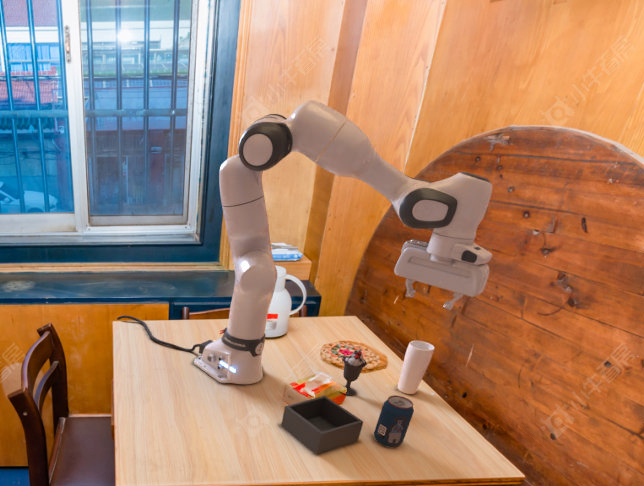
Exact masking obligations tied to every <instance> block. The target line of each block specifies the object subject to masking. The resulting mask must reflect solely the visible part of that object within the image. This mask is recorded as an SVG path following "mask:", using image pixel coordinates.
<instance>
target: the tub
mask: <svg viewBox="0 0 644 486" xmlns="http://www.w3.org/2000/svg"><path fill="white" fill-rule="evenodd" d="M363 425H364V421H363V420H362V419H360V418H359V417H358V416H356V415H355V414H353V413H352V412H350V411H349V410H347V409H346V408H344V407H343V406H341V405H340V404H338V403H337V402H335V401H334V400H333V399H330V398H329V397H328V396H326V395H322V396H318V397H315V398H311V399H307V400H303V401H298V402H296V403H292V404H287V405H285V406H284V409H283V414H282V419H281V423H280V426H281V427H282V428H283V429H284V430H285V431H287V432H288V433H289V434H291V436H293V437H294V438H295V439H297V440H298V441H299V442H300V443H302V444H303V445H304V446H305V447H307V448H308V449H309V450H310V451H311V452H313V453H314V454H316V455H320V454H322V453H327V452H329V451H333V450H336V449H338V448H342V447H344V446H345V447H346V446H348V445H351V444H354V443H357V442H358V441H359V437H360V434H361V431H362V428H363Z"/></svg>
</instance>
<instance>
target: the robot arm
mask: <svg viewBox="0 0 644 486" xmlns="http://www.w3.org/2000/svg"><path fill="white" fill-rule="evenodd" d="M237 149H238V150H237V151H238V154H235V155H232V156H230V157H227V159H226V160H224V161H223V162H222V163H221V165H220V166H219V171H218V178H219V179H218V181H219V182H218V183H219V184H218V185H219V194H220V203H221V207H222V213H223V218H224V223H225V228H226V233H227V238H228V243H229V248H230V253H231V257H232V263H233V268H234V285H233V292H232V297H231V302H230V306H229V314H228V322H227V327H224V328H223V329H221V330H219V335H222V336H221V337H220V338H217V339H215V340H211V339H209V340H206V341H204V342H201V343H195V344H193V346H192V347H191V348H186V347H185V348H184V347H182V346H179V345H176V344H173V343H171V342H166V341H164V340H160V339H158V338H156V337H155V336H154V335H153V334H152V332H151V330H150V328H149V326H148V325H147V324H146V322H145V321H143V320H141V319H139V318H137V317H134V316H131V315H127V314H125V315H119V316H118V317H116V320H118V321H119V320H122V319H129V320H132V321H134V322H137V323H140V324H141V325H143V327H144V329H145V331H146V333H147V335H148V336H149V337H150V339H151V340H152V341H154V342H155V343H158V344H161V345H164V346H167V347H170V348H174V349H176V350H179V351H184V352H187V353H191V352H194V351H195V349H196V348H198V354H199V355H198V356H197V357H196V358H195V359H194V360H193V364H194V365H195V366H196V367H197V368H199V369H200V370H202V371H203V372H204V373H206V374H207V375H209V376H210V377H211V378H212V379H214V380H216V381H217V382H218V383H220V384H236V385H237V384H238V385H251V384H256V383H258V382H260V381H262V380H263V377H264V374H263V363H262V362H263V360H262V359H263V352H264V347H265V342H266V327H267V321H268V315H269V310H270V305H271V303H272V300H273V296H274V292H275V288H276V285H277V280H278V269H277V266H276V264H275V260H274V257H273V252H272V244H271V237H270V236H271V235H270V227H269V226H270V225H269V219H268V212H267V205H266V198H265V194H264V187H263V186H264V185H263V173H264V172H265V171H269V170H270V169H272V168H273V167H275V166H277V165H278V164H279V163H280V162H281V161H282V160H283V159H285V158H286V157H287V156H288V155H290V154H291V153H293V152H295V153H296V152H297V153H299V154H302V155H303V156H305V157H306V158H307V159H309V160H310V161H312V162H313V163H315V164H316V165H317V166H319V167H320V168H322V169H324V170H325V171H327V172H329V173H331V174H333V175H335V176H338V177H342V178H353V179H356V180H359V181H361V182H363V183H365V184H367V186H369V187H371V188H372V189H374V190H375V191H376V192H378V193H379V194H380V195H382V196H383V197H385V198H386V199H387V200H388V201H389V203H390V204H391V206H392V208H393V210H394V213H395V214H396V215H397V217H398V218H399V220H400V221H401V223H402V224H403V225H404V226H406V227H408V228H410V229H413V230H432V229H433V230H432V233H431V236H430V239H429V242H428V241H423V240H418V239H415V238H411V239H409V240H406V241H405V242H404V243H403V245H402V248H401V251H400V253H401V254H400V255H399V258H398V260H397V262H396V264H395V266H394V268H393V272H394V275H396V276H398V277H401V278H405V284H404V285H405V288H406V292H405V297H406V298H410V299H413V298H414V297H415V294H416V292H417V290H415V289H414V287H413V284H414V283H415V282H419V283H422V284H425V285H429V286H431V287H436V288H439V289H443V290H447V291H450V292H453V297H454V298H453V299H451V300H446V301H445V302H444V305H443V306H442V307H443V309H445V310H448V311H451V310H452V309H453V307H454V305H455V303H457V302H458V301H459V300H461V299H462V298H463V297H464V296H467V297H471V298H475V297H477V296H479V295H481V294H482V293H483V292H484V291H485V288H486V285H487V282H488V280H489V276H490V266H489V264H488V263H489V262H491V260H492V258H493V254H492V252H490V251H489V250H487V249H485V248H484V247H482V246H480V245H479V244H477V243H475V239H476V237H477V230H478V228H479V225H480V223H481V222H482V221H483V219H484V218H485V215H486V213H487V209H488V207H489V204H490V202H491V197H492V193H493V184H492V182H491V180H490V179H488V178H486V177H485V176H481V175H478V174H475V173H471V172H468V171H459V172H457V173H456V174H454V175H452V176H450V177H447V178H444V179H441V180H437V181H434V182H432V181H430V180H427V179H423V178H416V177H415V178H414V177H411V176H409V175H407V174H405V173H403V172H402V171H401V170H399V169H398V168H397V167H395V166H394V165H393V164H391V163H389V162H388V161H386V159H384V158H383V156H381V155H380V154H379V152H378V151H377V150H376V148H375V146H374V145H373V143H372V141H371V139H370V138H369V137H368V135H367V134H366V133H365V132H364V131H363V130H362V128H361V127H359V126H358V125H357V124H356V122H353V121H352V120H351V119H349V118H348V117H347V116H345V115H344V114H343V113H341V112H339V111H338V110H336V109H335V108H332V107H330V106H329V105H326V104H324V103H322V102H321V101H317V100H312V99H311V100H307V101H304V102H303V103H301V104H299V105H298V106H297V107H296V108H295V110H294V111H292V113H291V115H290V116H289V117H288V118H287V117H286V116H284V115H282V114H278V113H270V114H266V115H264V116H262V117H260V118H258V119H256V120H254V122H252V123H251V124H250V126H249V127H247V129H246V130H245V131H244V132H243V133H242V135H241V136H240V139H239V143H238V148H237Z"/></svg>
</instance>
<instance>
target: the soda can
mask: <svg viewBox="0 0 644 486" xmlns="http://www.w3.org/2000/svg"><path fill="white" fill-rule="evenodd" d="M414 411H415V410H414V403H413V401H412V400H411V399H409V398H407V397H405V396H403V395H402V396H401V395H390V396H388V398H387V399H386V400H385V401H384V402H383V403H382V407H381V410H380V414H379V416H378V419H377V422H376V424H375V427H374V431H373V437H374V439H375V441H376V442H377V444H379V445H381V446H383V447H386V448H397V447H399V446H400V445H401V444H403V442H404V440H405V437H406V434H407V432H408V430H409V426H410V423H411V420H412V418H413V415H414Z"/></svg>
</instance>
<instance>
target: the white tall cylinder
mask: <svg viewBox="0 0 644 486" xmlns="http://www.w3.org/2000/svg"><path fill="white" fill-rule="evenodd" d="M434 352H435V346H434V345H433V344H431V343H429V342H426V341H423V340H411V341H410V342H409V343H408V345H407V348H406V351H405V353H404V358H403V362H402V365H401V371H400V376H399V380H398V383H397V389H398V391H399V392H401V393H403V394H406V395H413V394H415V393H417V392H418V389H419V386H420V385H421V382H422V380H423V378H424V376H425V373H426V371H427V369H428V367H429V366H430V363H431V361H432V359H433V355H434Z"/></svg>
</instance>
